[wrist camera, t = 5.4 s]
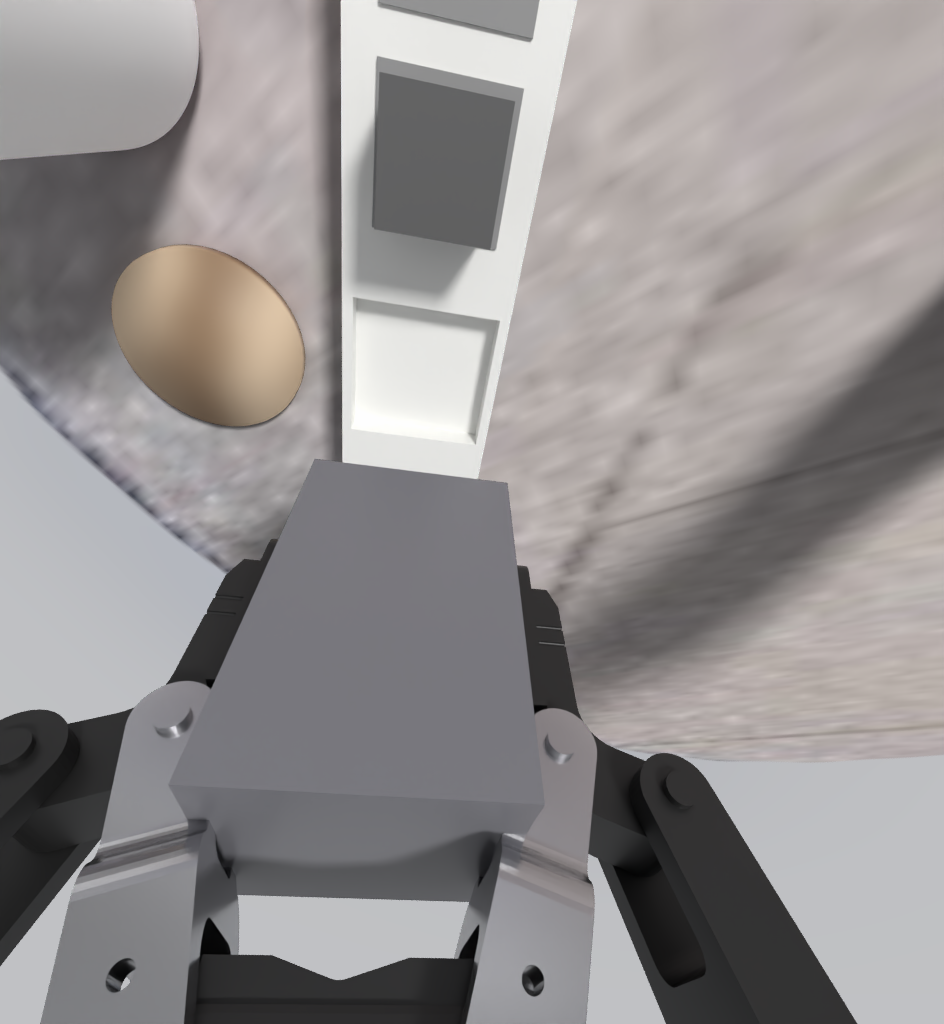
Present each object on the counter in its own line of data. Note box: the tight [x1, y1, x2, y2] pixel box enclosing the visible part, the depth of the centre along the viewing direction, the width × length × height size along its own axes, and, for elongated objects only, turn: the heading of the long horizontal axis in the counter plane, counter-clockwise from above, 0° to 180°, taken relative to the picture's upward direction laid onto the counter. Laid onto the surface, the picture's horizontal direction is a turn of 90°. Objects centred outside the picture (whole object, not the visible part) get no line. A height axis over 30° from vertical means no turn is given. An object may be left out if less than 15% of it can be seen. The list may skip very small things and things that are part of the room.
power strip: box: [341, 0, 577, 479], centre depth 16 cm, size 6×26×6 cm, turn 171°
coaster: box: [111, 244, 305, 426], centre depth 22 cm, size 8×8×1 cm
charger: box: [168, 459, 545, 902], centre depth 10 cm, size 4×5×7 cm
